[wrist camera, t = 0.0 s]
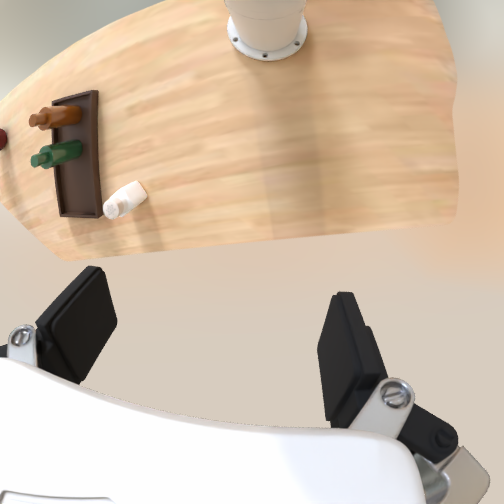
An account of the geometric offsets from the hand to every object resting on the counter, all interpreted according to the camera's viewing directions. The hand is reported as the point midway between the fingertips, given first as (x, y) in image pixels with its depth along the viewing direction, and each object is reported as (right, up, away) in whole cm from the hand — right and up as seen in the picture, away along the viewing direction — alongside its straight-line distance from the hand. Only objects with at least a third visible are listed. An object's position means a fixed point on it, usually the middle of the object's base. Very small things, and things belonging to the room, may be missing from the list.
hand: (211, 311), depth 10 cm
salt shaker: (-20, +13, +36) cm, 43 cm away
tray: (-33, +21, +33) cm, 52 cm away
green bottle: (-33, +23, +32) cm, 51 cm away
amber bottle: (-33, +29, +29) cm, 52 cm away
